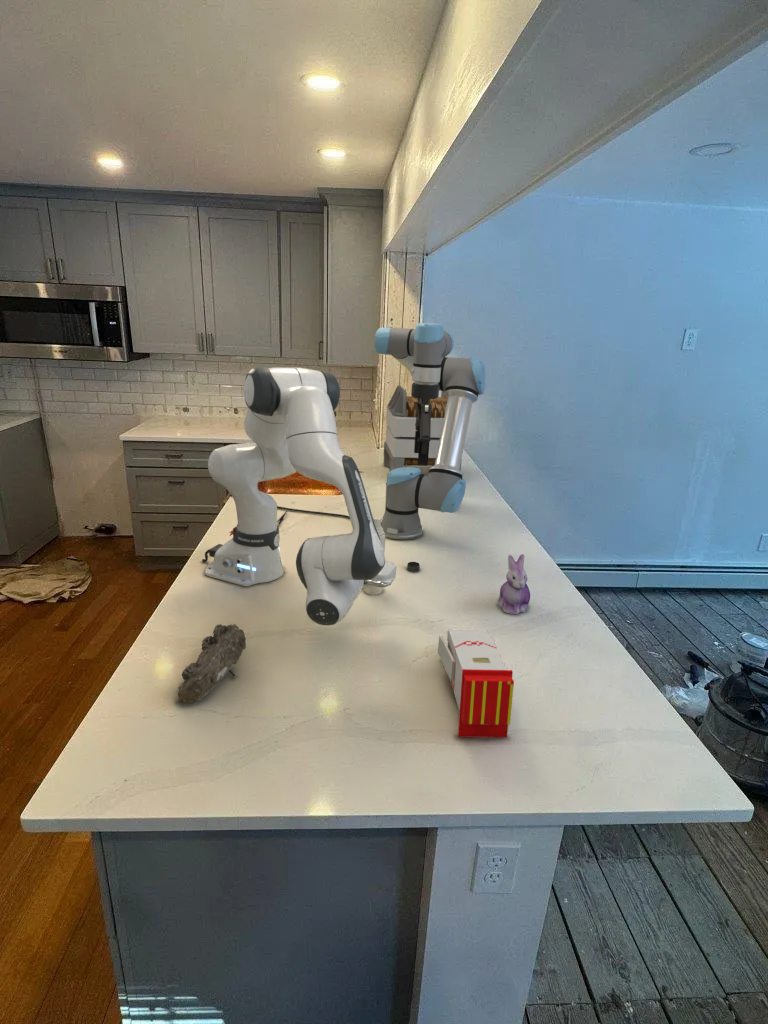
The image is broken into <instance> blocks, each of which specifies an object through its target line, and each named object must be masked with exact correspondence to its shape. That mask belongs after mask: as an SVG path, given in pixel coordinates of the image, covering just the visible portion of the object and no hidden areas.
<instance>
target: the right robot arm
mask: <svg viewBox="0 0 768 1024" xmlns="http://www.w3.org/2000/svg"><path fill="white" fill-rule="evenodd" d="M373 343H374V349H375V352H376V353H377V354H380V355H384V356H387V355H388V356H391V357H392V358H394V359H395V360H396V361H397V362H399V363H400V365H402V366H403V367H405V368H406V369H407V370H408V371H409V374H410V376H411V377H412V379H411V380H412V381H413V382H412V384H411V390H410V391H411V392H410V396H412V397H414V398H418V403H417V405H416V408H417V411H416V413H417V415H416V424H415V429H416V430H417V431H415V447H414V453H418V465H428V455H429V441H430V440H431V438H430V434H431V411H432V405H431V404H430V399H436V398H438V397H440V391H441V392H442V391H445V393H444V395H445V397H446V398H447V405H446V410H445V415H444V420H443V425H442V430H441V435H440V440H439V445H438V450H437V455H436V460H435V465H434V466H430V468H428V472H427V474H425V473H422V469H421V468H419V467H417V466H404V467H402V468H397V469H393V470H391V471H390V470H389V472H388V473H387V475H386V482H385V504H384V505H385V507H384V508H385V509H384V513H383V515H382V518H381V526H382V528H383V531H384V533H385V538H387V539H389V540H395V541H410V540H415V539H418V538H420V537H421V536H422V535H423V525H422V524H421V518H420V515H419V509H424V510H430V511H435V512H436V511H437V512H441V513H450V514H453V513H456V512H457V511H458V510H459V509H460V507H461V505H462V502H463V500H464V497H465V493H466V488H467V482H466V480H465V479H464V478H463V473H462V471H461V472H460V470H459V468H460V463H461V464H462V462H461V458H462V457H463V452H464V447H465V442H466V437H467V432H468V427H469V422H470V417H471V411H472V406H473V404H474V403H476V402H477V401H478V398H479V396H482V395H484V394H485V388H486V370H485V364H484V362H483V361H482V359H481V360H480V359H476V358H472V357H471V358H464V357H449V355H450V354H451V353H452V352H453V350H454V347H455V340H454V336H452V334H451V333H450V332H449V331H448V330H447V331H446V330H444V325H443V324H441V323H433V322H432V323H431V322H430V323H429V322H419V323H417V324H416V325H415V328H404V327H403V328H402V327H391V326H389V327H387V326H386V327H379V328H378V329H377V330H376V332H375V335H374V341H373ZM447 356H448V357H447ZM428 466H429V465H428ZM229 497H232V495H231V494H230V495H229ZM277 509H280V510H284V511H285V510H286V511H292V512H297V513H298V512H299V513H308V514H313V515H314V514H315V515H324V516H332V517H342V518H346V519H350V517H349V515H345V514H340V513H331V512H322V511H313V510H306V509H297V508H291V507H284V506H279V505H277Z"/></svg>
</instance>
